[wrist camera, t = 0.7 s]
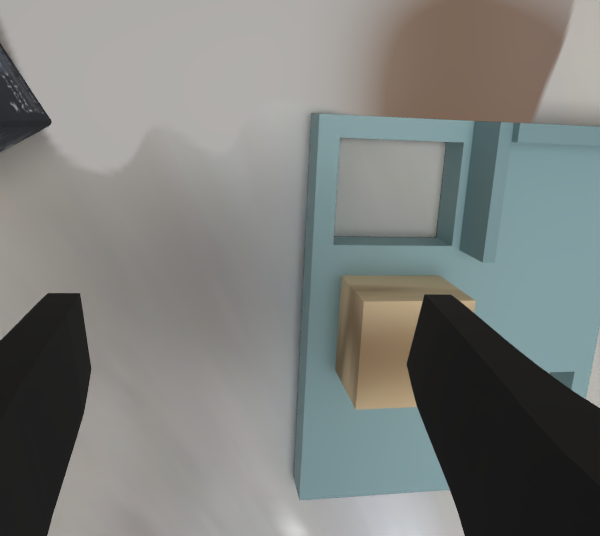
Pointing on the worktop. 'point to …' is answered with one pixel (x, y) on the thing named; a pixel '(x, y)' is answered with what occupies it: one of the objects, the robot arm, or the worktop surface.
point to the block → (382, 335)
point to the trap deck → (455, 269)
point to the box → (17, 106)
